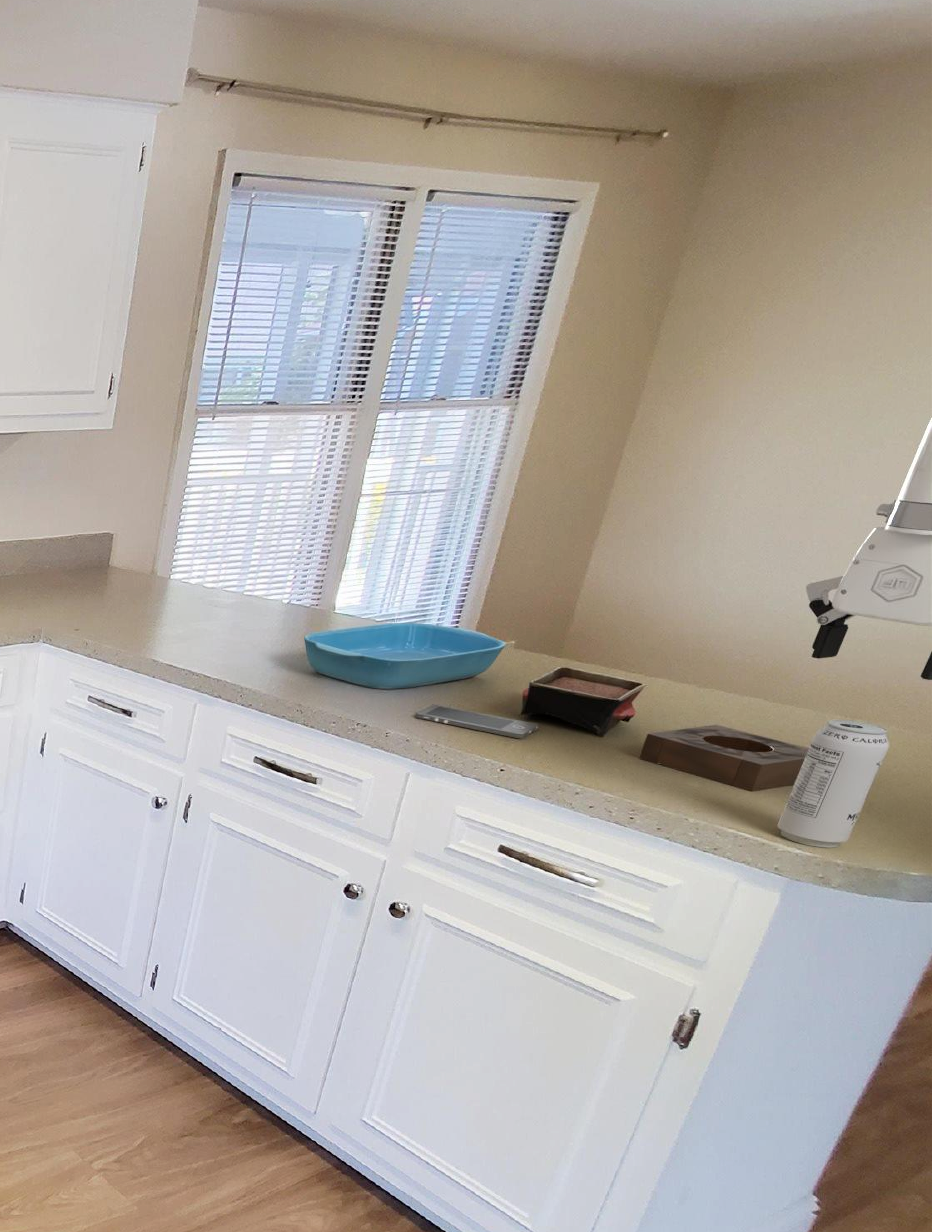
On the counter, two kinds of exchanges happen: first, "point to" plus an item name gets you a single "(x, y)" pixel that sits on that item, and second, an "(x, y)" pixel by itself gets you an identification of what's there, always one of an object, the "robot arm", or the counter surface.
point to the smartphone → (477, 721)
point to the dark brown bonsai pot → (582, 698)
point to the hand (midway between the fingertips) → (876, 667)
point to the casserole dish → (401, 654)
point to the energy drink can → (833, 783)
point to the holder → (727, 756)
